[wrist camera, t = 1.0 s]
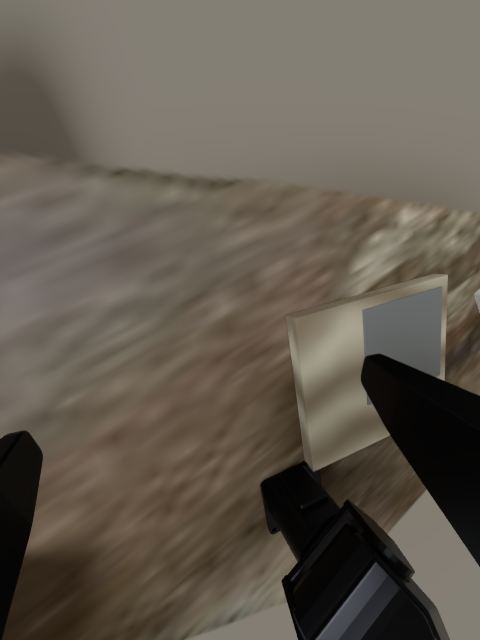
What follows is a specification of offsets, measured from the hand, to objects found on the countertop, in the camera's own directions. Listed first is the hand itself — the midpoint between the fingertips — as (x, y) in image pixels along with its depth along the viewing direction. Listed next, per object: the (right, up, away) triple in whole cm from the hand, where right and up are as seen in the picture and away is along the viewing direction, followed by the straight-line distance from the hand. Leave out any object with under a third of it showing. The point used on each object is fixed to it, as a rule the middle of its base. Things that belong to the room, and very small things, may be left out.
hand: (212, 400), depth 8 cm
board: (+14, -3, +23) cm, 27 cm away
